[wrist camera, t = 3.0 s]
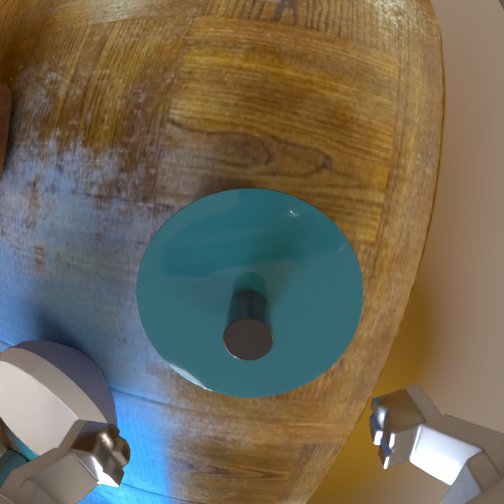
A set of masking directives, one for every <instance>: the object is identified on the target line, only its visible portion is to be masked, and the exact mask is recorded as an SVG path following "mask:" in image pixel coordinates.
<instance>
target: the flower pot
mask: <svg viewBox="0 0 504 504" xmlns="http://www.w3.org/2000/svg"><path fill="white" fill-rule="evenodd" d="M25 463H27V461H26V460H25V458H24V457H23V456H21V455H20V454H18V453H16V452H15V451H12V450H7V451H6V452H5V454H4V455H3V456H2V457H1V458H0V488H1V487H2V485H3V484H4V482H5V481H6V479H7V477H8V476H9V474H10V473H11V471H12V470H14V469H16V468H18V467H20V466H22V465H24V464H25Z"/></svg>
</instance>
